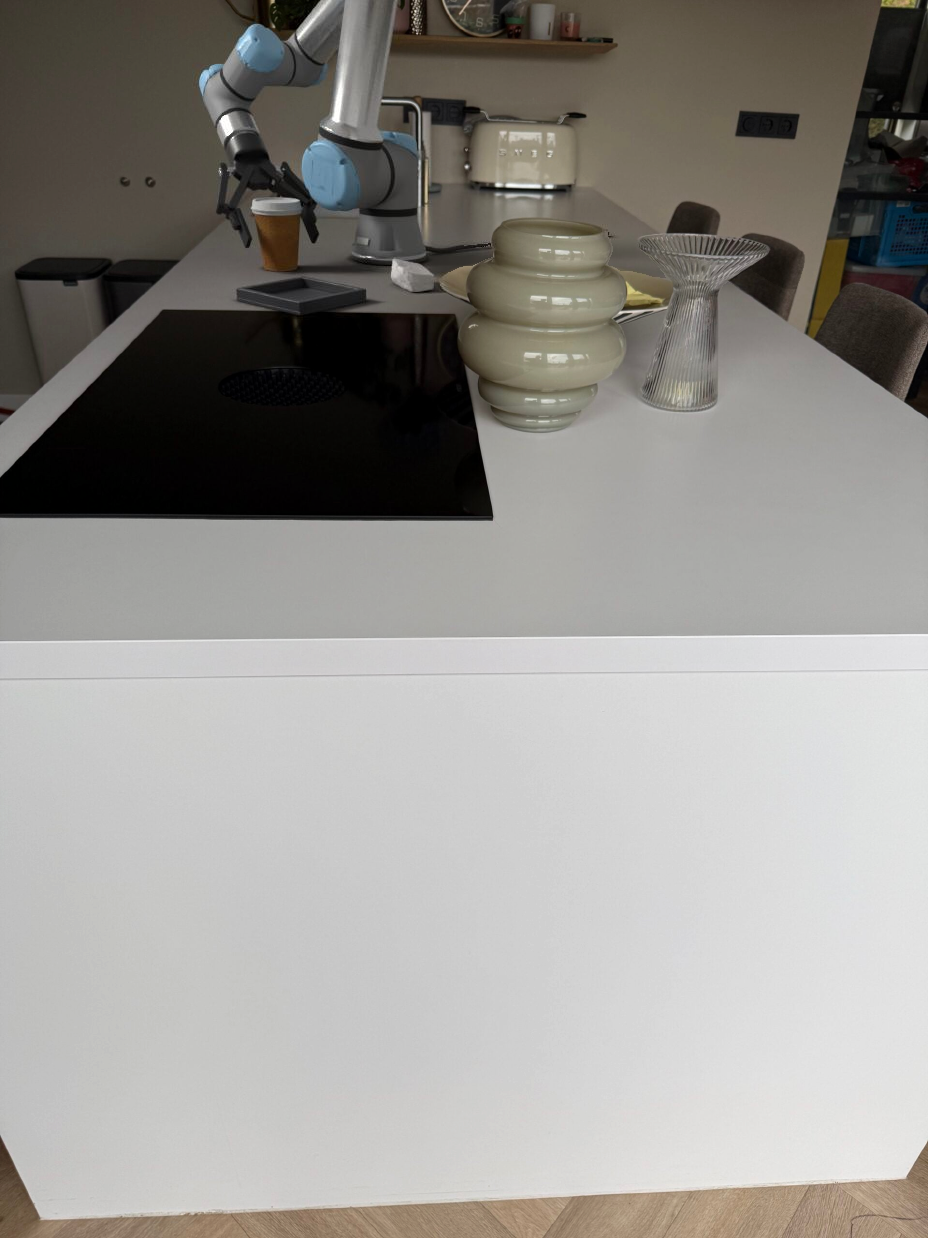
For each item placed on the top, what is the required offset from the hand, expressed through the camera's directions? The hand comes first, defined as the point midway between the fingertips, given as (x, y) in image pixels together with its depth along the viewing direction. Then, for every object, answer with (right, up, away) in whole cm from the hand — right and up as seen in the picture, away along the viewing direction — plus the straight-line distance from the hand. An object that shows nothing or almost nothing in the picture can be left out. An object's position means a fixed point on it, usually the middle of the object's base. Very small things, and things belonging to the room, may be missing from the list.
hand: (282, 240), depth 172 cm
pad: (+7, -18, -20) cm, 28 cm away
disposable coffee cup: (-1, -4, +4) cm, 6 cm away
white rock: (+25, -12, -8) cm, 28 cm away
